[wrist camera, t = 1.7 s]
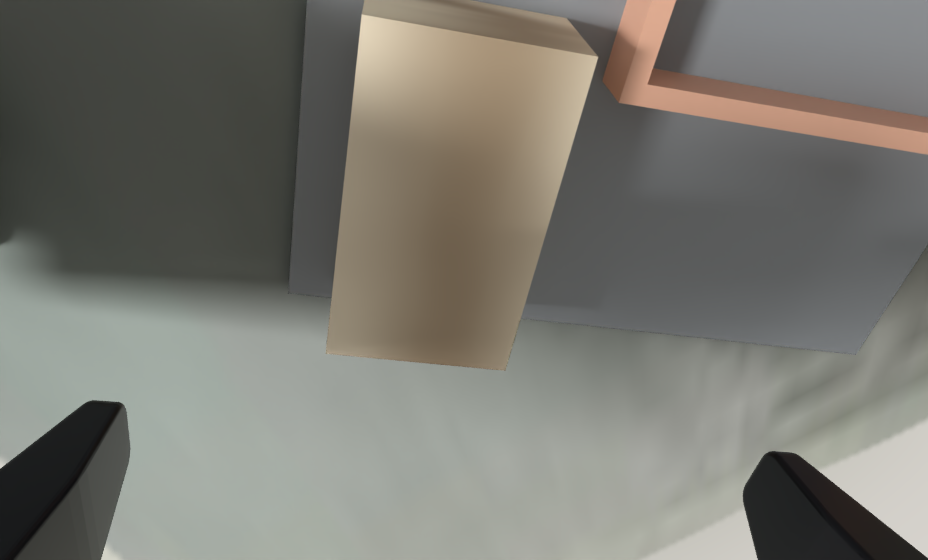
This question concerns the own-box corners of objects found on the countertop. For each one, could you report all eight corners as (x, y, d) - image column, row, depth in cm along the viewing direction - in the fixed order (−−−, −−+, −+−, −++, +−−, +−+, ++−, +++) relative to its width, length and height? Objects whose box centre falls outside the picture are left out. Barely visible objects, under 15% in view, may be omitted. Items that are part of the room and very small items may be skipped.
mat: (289, 285, 20) (288, 293, 19) (337, -452, 11) (336, -459, 11) (849, 346, 23) (855, 354, 22) (1199, -199, 14) (1217, -199, 14)
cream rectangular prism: (334, 283, 19) (325, 353, 17) (367, -20, 15) (361, 14, 12) (491, 301, 20) (504, 370, 17) (566, 18, 16) (598, 56, 13)
